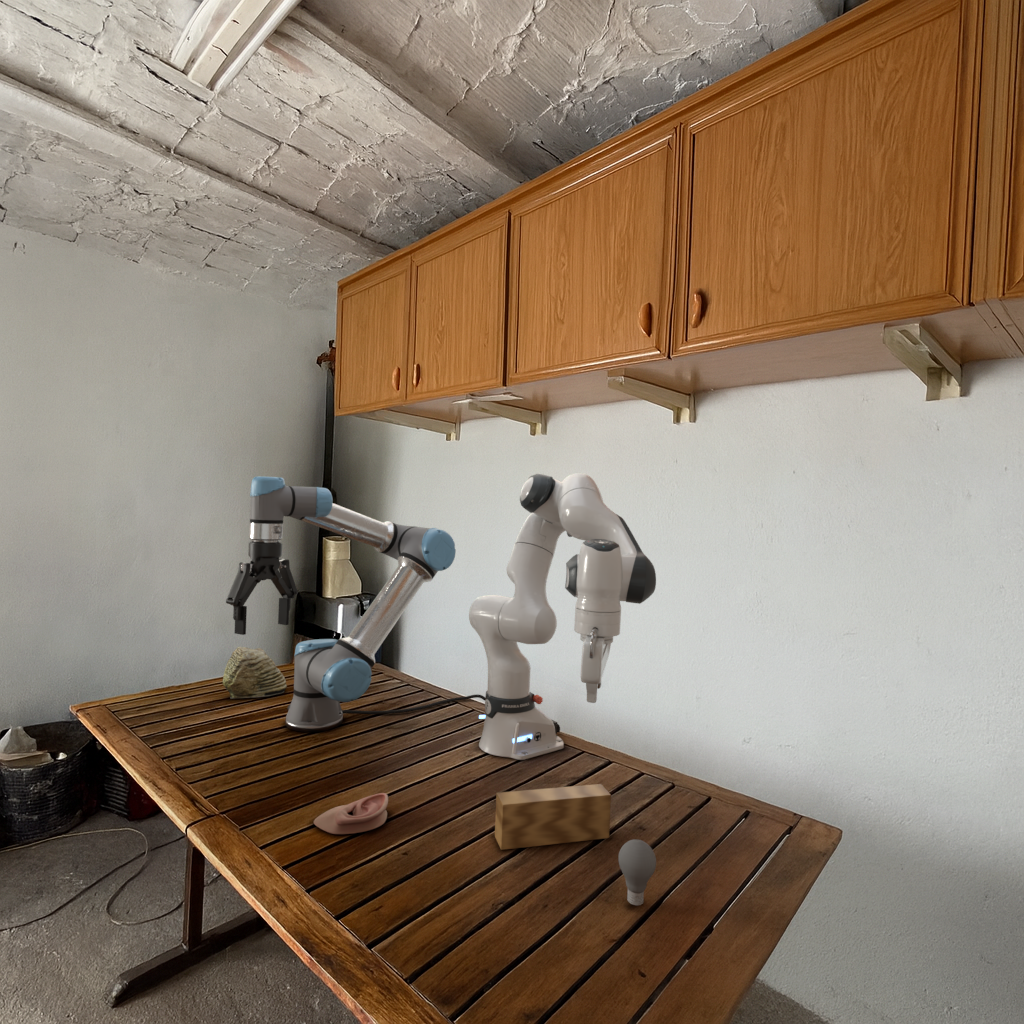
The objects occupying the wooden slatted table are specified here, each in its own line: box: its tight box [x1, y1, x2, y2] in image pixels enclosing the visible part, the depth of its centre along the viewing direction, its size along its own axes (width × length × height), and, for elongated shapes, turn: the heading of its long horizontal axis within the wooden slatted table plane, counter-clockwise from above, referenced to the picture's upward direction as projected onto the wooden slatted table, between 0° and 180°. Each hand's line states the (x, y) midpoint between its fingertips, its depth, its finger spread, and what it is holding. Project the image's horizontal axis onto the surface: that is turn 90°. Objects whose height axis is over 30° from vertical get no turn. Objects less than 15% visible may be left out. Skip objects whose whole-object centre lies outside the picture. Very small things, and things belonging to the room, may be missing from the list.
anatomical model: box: [313, 792, 389, 835], centre depth 124 cm, size 13×4×12 cm
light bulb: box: [618, 838, 657, 906], centre depth 102 cm, size 6×6×10 cm
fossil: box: [222, 646, 288, 699], centre depth 198 cm, size 9×18×15 cm, turn 132°
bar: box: [494, 783, 612, 851], centre depth 122 cm, size 22×5×8 cm, turn 106°
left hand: (262, 629), depth 152 cm, fingers open, 13 cm apart
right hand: (594, 694), depth 123 cm, fingers open, 8 cm apart
